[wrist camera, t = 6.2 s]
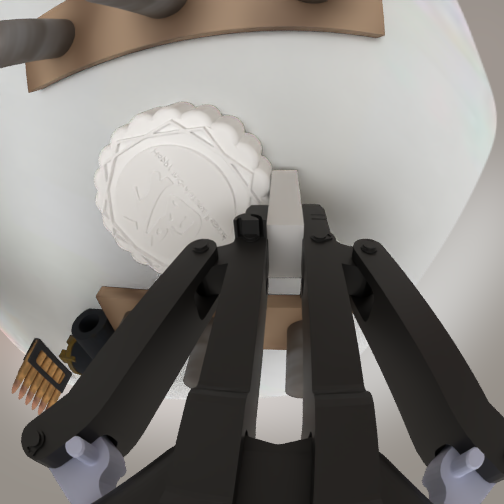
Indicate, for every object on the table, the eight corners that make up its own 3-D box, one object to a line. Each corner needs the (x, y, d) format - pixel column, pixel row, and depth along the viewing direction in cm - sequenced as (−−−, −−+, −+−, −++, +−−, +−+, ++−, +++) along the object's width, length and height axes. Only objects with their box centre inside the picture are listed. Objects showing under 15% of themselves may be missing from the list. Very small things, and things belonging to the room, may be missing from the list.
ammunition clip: (72, 373, 43) (50, 422, 33) (66, 372, 43) (45, 420, 34) (39, 338, 37) (10, 391, 27) (34, 337, 37) (6, 388, 28)
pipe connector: (92, 395, 34) (33, 333, 26) (103, 369, 39) (52, 304, 30) (153, 408, 33) (95, 343, 24) (162, 377, 37) (114, 306, 28)
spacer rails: (121, 324, 29) (97, 377, 23) (36, 27, 11) (-35, 36, 5) (340, 337, 27) (347, 403, 21) (368, -40, 8) (413, -86, 2)
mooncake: (88, 170, 19) (61, 190, 16) (204, 64, 14) (185, 63, 11) (181, 275, 24) (169, 305, 21) (307, 211, 19) (311, 239, 16)
